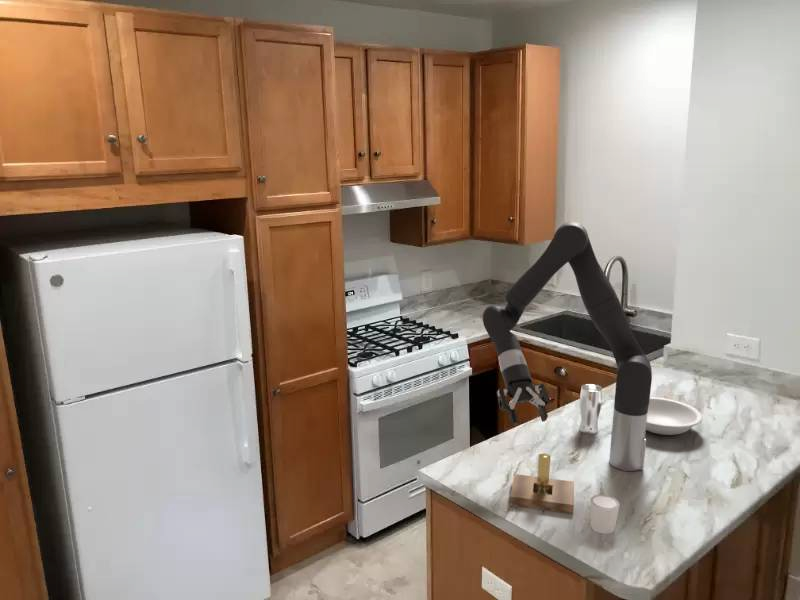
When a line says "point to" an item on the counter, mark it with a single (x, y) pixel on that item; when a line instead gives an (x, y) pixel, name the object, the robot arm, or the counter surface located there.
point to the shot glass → (603, 513)
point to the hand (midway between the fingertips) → (530, 422)
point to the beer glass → (590, 408)
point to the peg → (543, 473)
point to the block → (556, 502)
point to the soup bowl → (670, 416)
